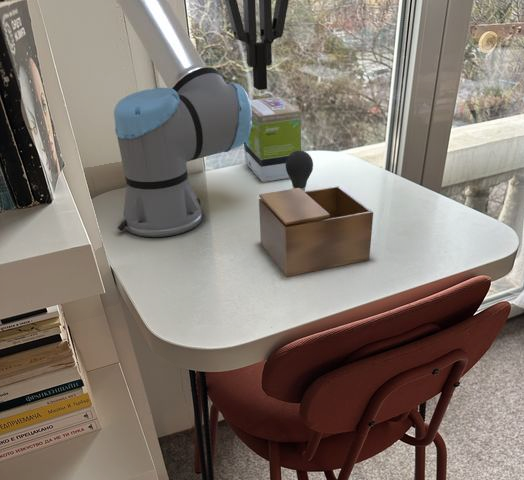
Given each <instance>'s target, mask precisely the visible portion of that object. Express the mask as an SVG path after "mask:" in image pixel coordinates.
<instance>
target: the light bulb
mask: <svg viewBox="0 0 524 480" xmlns="http://www.w3.org/2000/svg"><path fill="white" fill-rule="evenodd" d="M313 170H314V161H313V158H312V156H311V155H310V154H309V152H306V151H305V150H302V149H301V150H298V151H294V152H293V153H291V154H290V155H289V156H288V158H287V160H286V171H287V174H288V175H289V177H290V178H289V179H290V181H291V185H292V189H294V188H300V189H301V190H302V191H304V192H305V191H306V187H307V183H308V180H309V178H310V176H311V174H312V173H313Z"/></svg>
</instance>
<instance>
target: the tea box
mask: <svg viewBox="0 0 524 480" xmlns="http://www.w3.org/2000/svg"><path fill="white" fill-rule="evenodd" d="M249 100H250V99H249ZM250 104H251V109H252V126H251V131H250V134H249V137H248V139H247V140H246V142H245V143H244V144H243V151H244V161H245V163H246V165H247V166H248V167H249V168H250V169H251V170H252V172H253V173H254V174H255V175H256V176H257V178H258V179H259V180H260V181H261V182H262V183H266V182H273V181H279V180H286V179H290V177H289V175H288V174H287V171H286V160H287V158H288V156H289V155H290V154H291V153H293V152H294V151H298V150H301V151H302V111H301V110H300V109H298V108H297V107H296V106H295V105H293V104H291V103H290V102H288V101H287V100H285V99H283V98H282V97H281V96H273V97H272V96H271V97H266V98H265V97H264V98H259V99H251V100H250Z"/></svg>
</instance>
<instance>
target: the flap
mask: <svg viewBox="0 0 524 480" xmlns="http://www.w3.org/2000/svg"><path fill="white" fill-rule="evenodd" d="M258 197H259V199H262V200H263V201H264V202H265V203H266V204H267V205H268V206H269V207H270V208H271V210H272V211H273V212H274V213H275V214H276V215H277V216H278V217H279V218H280V219H281V220H282V221H283V222H284V223H285V224H286V225H288V224H294V223H299V222H304V221H310V220H315V219H320V218H326V217H330V214H329V213H328V212H327V211H325V210H324V209H323V208H322V207H321V206H320V205H319V204H317V203H316V202H315V201H314V200H313V199H312V198H310V197H309V196H308V195H307V194H306V193H305V192H304V191H302V190H301V189H300V188H294V189H293V188H288V189H283V190H277V191H272V192H266V193H261V194H260V193H259V195H258Z"/></svg>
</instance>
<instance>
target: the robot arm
mask: <svg viewBox="0 0 524 480" xmlns="http://www.w3.org/2000/svg"><path fill="white" fill-rule="evenodd" d="M116 1H117V3H118V5H119V7H120V8H121V10H122V12H123V13H124V15H125V17H126V19H127V20H128V22H129V24H130V25H131V27H132V29H133V31H134V32H135V34H136V36H137V38H138V39H139V41H140V42H141V45H142V47H143V48H144V50H145V51H146V53H147V55H148V56H149V58H150V60H151V62H152V64H153V65H154V67H155V69H156V70H157V72H158V74H159V76H160V77H161V80H162V81H163V82H164V84H165V86H166V87H155V88H152V89H149V88H148V89H147V88H146V89H143V90H140V91H136V92H133V93H130V94H128V95H126V96H124V97H123V98H121V99H120V100H119V101H118V102H117V103H116V104H115V107H114V110H113V117H114V127H115V128H114V129H115V131H114V132H115V135H116V137H117V142H118V148H119V152H120V159H121V162H122V168H123V173H124V178H125V183H126V192H125V200H124V207H123V213H122V214H123V215H122V217H123V219H122V220H123V221H122V222H121V223H120V225H119V226H118V227H117V229H118V230H119V231H120V232H123V231H124V229H125V230H126V231H127V232H129V233H131V234H132V235H135V236H139V237H145V238H163V237H171V236H176V235H180V234H184V233H186V232H188V231H190V230H193V229H195V228H196V227H197V226H198V225H199V224H201V222H202V220H203V216H202V215H203V213H202V208H201V199H199V198H198V197H197V196H196V194H195V192H194V189H193V188H192V185H191V184H190V182H189V177H188V167H187V163H188V162H191V161H194V160H199V159H202V158H207V157H210V156H213V155H217V154H221V153H228V152H230V151H231V150H234V149H237V148H239V147H241V146H244V143H245V142H246V140H247V139H248V137H249V134H250V131H251V126H252V109H251V104H250V98H249V95H248V93H247V91H246V89H245V88H244V87H243V86H242V85H241V84H239V83H234V82H230V83H228V84H227V83H226V81H225V80H224V78H223V77H222V74H221V73H220V71H219V70H218V69H217V68H216V67H214V66H211V65H207V64H206V63H205V61H204V60H203V59H202V57H201V54H200V53H199V51H198V50H197V48H196V46H195V45H194V43H193V41H192V40H191V38H190V36H189V34H188V33H187V31H186V29H185V27H184V26H183V24H182V23H181V21H180V19H179V17H178V15H177V14H176V12H175V10H174V9H173V7H172V5H171V4H170V2H169V0H116ZM289 1H290V0H275V3H274V9H273V10H272V0H258V8H259V9H258V11H259V12H258V13H259V15H258V17H259V38H260V42H258V38H257V37H258V35H257V34H258V33H257V9H256V0H242V7H243V19H242V17H241V16H242V15H241V12H240V9H239V4H238V0H224V3H225V7H226V12H227V15H228V19H229V23H230V26H231V30H232V34H233V37H234V39H235V40H237V41H240V42H243V43H244V45H245V48H246V49H245V51H246V63H247V66H248V67H250V68H252V80H253V88H254V89H256V90H258V91H262V90H268V67H267V66H272V63H273V55H272V53H273V51H272V49H273V48H272V45H273V43H274V41H276V40H277V39H278V38H279V39H280V38H282V37H283V35H284V29H285V24H286V20H287V19H286V18H287V13H288V8H289ZM272 12H273V13H272ZM242 20H243V21H242Z"/></svg>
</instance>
